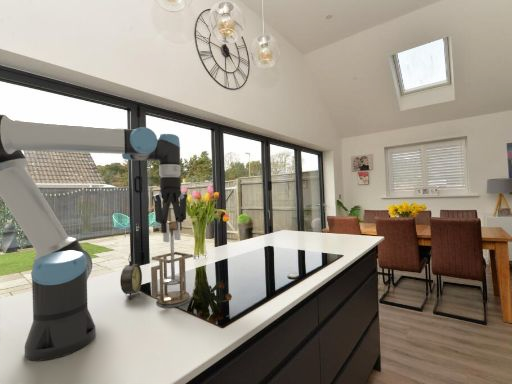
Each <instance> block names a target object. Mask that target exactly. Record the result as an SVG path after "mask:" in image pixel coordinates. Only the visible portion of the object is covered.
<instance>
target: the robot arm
mask: <svg viewBox="0 0 512 384" xmlns="http://www.w3.org/2000/svg"><path fill="white" fill-rule="evenodd" d="M24 151H31V152H53V153H55V152H56V153H57V152H58V153H59V152H61V153H84V154H85V153H87V154H89V153H91V154H116V155H117V154H118V155H121V157H122V159H124V160H125V161H126V160H129V161H154V162H158V176H159V181H158V182H159V188H160V190H159V192H158V193H157V194H153V195H152V199H153V202H154V214H155V222H156V223H159V224H160V229H161V231H160V232H161V234H162V239H163V241H162V242H164V243H170V231H169V224H166V223H167V222H168V219H169V218H168V217H169V212H170V205H172V209H173V214H174V219H175V220H174V221H177V230H173V231H174V241H180V240H181V231H182V227H183V226H182V224H183V222H184V221H185V220H187V198H188V194H187V193H184V192H182V190H181V187H182V178H181V173H182V172H181V144H180V137H179V135H176V134H173V133H161V134H159V135H158V137H157V135H156V133H155V131H154V130H152V129H150V128H149V127H146V126H140V127H137V128H135V129H131V128H118V127H116V128H115V127H108V126H107V127H106V126H93V125H92V126H91V125H83V124H82V125H81V124H79V125H78V124H69V123H67V124H66V123H58V122H57V123H56V122H44V121H32V120H20V119H19V120H18V119H17V120H16V119H13V118H12V117H11V116H9V115H6V114H0V199H2V202H3V203H4V204H5V206H6V208H7V209H8V210H9V212H10V213H11V214H12V217H13V218H14V219H15V222H16V223H17V224H18V226H19V227H20V229H21V230H22V232H23V233H24V235H25V236H26V238H27V239H28V241H29V243H30V244H31V245H32V248H34V251H36V252H35V254H34V258H33V261H34V262H33V264H32V268H31V273H30V275H31V282H32V283H31V285H32V287H31V288H32V314H33V315H32V323H31V326H30V329H29V332H28V335H27V338H26V341H25V343H24V357H25V358H26V359H28V360H30V361H47V360H52V359H57V358H60V357H64V356H67V355H70V354H72V353H74V352H77V351H78V350H81V349H83V348H85V346H87V345H88V344H90V343H91V342H92V341H93V340H94V339H95V337H96V334H97V333H96V328H97V327H96V324H95V322H94V320H93V318H92V315H91V313H90V310H89V307H88V280H89V276H90V274H91V272H92V269H93V260H92V257H91V255H90V253H88V251H87V250H85V249H83V247H82V246H81V243H80V242H79V241H78V239H77V238H75V237H73V236H72V237H71V236H69V235H68V234H67V232H66V230H65V228H64V227H63V226H62V224H61V222H60V221H59V219H58V218H57V216H56V215H55V213H54V211H53V209H52V207H51V206H50V204H49V203H48V201H47V199H46V198H45V196H44V195H43V194H42V191H41V190H40V188H39V186H38V185H37V184H36V182H35V180H34V179H33V177H32V175H31V174H30V172H29V171H28V169H27V166H28V163H29V158H28V157H27V156H26V153H25V152H24Z"/></svg>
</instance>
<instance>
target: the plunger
mask: <svg viewBox="0 0 512 384" xmlns="http://www.w3.org/2000/svg"><path fill="white" fill-rule="evenodd" d="M166 224H169V237H170V242H169V243H170V253H171V256H170V260H171V259H175V255H174V252H175V242H174V241H175V240H174V230H177V221H176V220H167V223H166ZM175 267H176V266H175V262H171V263H170V273H171V275H170V276H167V277H166V278H164V277H163V286H164V285H167V286H175V285H180V275H176V274H175V273H176V272H175ZM183 281H184V277H183Z"/></svg>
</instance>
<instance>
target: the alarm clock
mask: <svg viewBox="0 0 512 384" xmlns="http://www.w3.org/2000/svg"><path fill="white" fill-rule="evenodd" d="M128 259H130V260H128V263H129V264H127V265H125V266H124V267H123V269H122V271H121V273H120V280H119V281H120V288H121V292H122V293H123V294H125V296H127V295H129V296H128V300H132V294H138V293H139V292H140V290H141V289H142V288H141V287H142V284H143V274H142V268H141V266H140V265H139V264H138V263H134V264H133V263H132V262H133V261H132V260H133V256H132V253H130V254H129V255H128Z"/></svg>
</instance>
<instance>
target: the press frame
mask: <svg viewBox="0 0 512 384" xmlns="http://www.w3.org/2000/svg"><path fill="white" fill-rule="evenodd" d="M175 255H178V256H180V257H174V259H171V258H170V259H167V258H168V257H171V252H169V253H164V254H161V255H155V256H151V260H152V261H158V262H159V263H158V264H159V265H158V264H157V265H153V266H150V278H151V280H150V281H151V297H153V298H157V299H156V301H155V302H156V306H157V307H159V308H163V309H164V308H165V309H167V308H168V309H171V308H172V309H173V308H177V307H180V306H183V305H186V304H188V303H189V302H190V301H191V300H192V298H191V295H190V293H189V292H188V291H187V284H186V282H187V281H186V260H187V259H190V258H193V257H194V254H192V253H185V252H178V251H174V256H175ZM171 262H174V263H175V262H178V268H179V269H178V270H179V273H178V274H179V276H180V284H179V290H175V291H174V290H173V291H169V292H168V285H164V284H163V279H164V278H166V277H168V269H167V268H168V267H167V266H168V265H167V264H171ZM158 270H159V287H158ZM183 277H184V281H183ZM158 288H159V289H158ZM158 290H159V291H158Z"/></svg>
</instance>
